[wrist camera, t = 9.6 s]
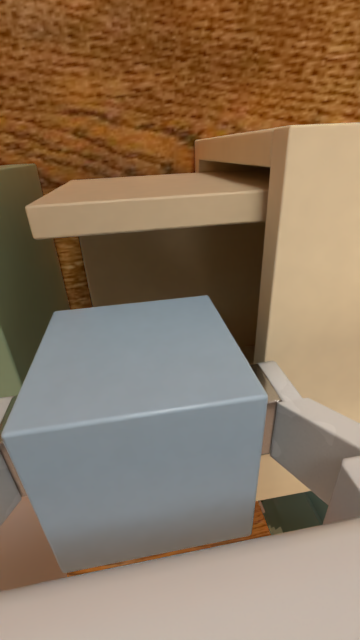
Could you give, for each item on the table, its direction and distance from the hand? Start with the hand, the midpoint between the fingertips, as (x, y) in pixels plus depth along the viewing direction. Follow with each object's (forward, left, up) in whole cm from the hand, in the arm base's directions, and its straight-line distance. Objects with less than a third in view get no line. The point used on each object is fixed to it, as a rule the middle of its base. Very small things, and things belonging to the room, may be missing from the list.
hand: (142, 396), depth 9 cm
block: (0, 0, -2) cm, 2 cm away
